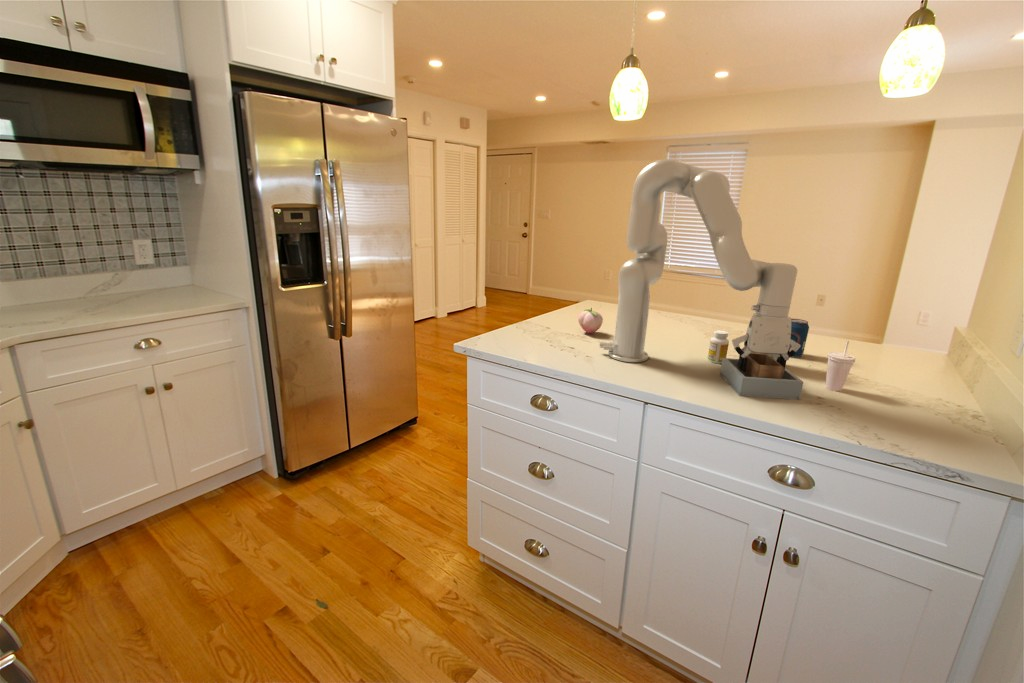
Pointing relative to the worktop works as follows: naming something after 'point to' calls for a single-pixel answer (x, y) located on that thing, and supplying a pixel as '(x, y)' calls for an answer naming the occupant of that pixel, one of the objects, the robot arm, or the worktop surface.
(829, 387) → the smoothie
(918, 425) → the worktop surface
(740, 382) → the grey crate
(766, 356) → the walnut crate
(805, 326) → the soda can
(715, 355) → the supplement bottle
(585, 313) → the decorative fruit
